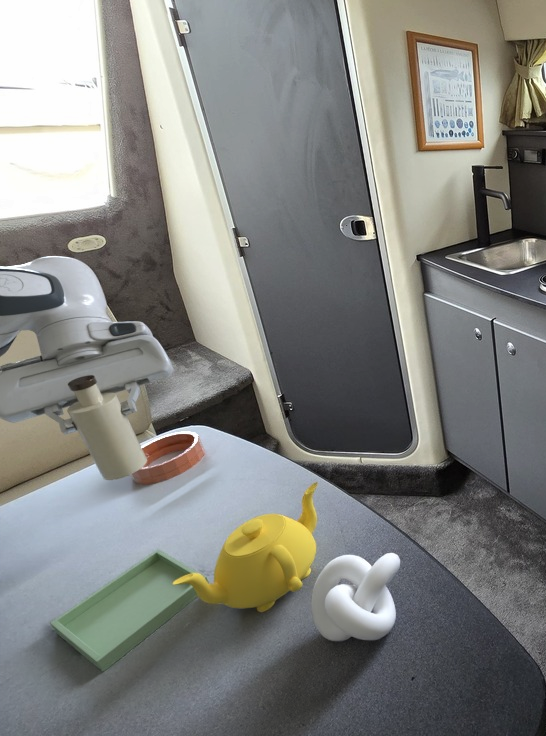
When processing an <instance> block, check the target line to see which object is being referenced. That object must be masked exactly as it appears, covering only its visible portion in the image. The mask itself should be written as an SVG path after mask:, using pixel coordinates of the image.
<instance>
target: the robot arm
mask: <svg viewBox="0 0 546 736" xmlns="http://www.w3.org/2000/svg"><path fill="white" fill-rule="evenodd" d="M107 307H108V303H107V299H106V296H105V293H104V290H103V287H102V285H101V283H100V281H99V278H98V277H97V275H96V273H95V272H94V270H92V268H90V266H88V265H87V264H86V263H85V262H83V261H81V260H79V259H76V258H74V257H68V256H60V255H52V256H51V255H50V256H49V255H48V256H43V257H42V256H41V257H38V258H36V259H33V260H31V261H30V262H29V261H28V262H27V263H24V264H17V265H11V266H0V358H1V357H3V356H4V355H5V354H6V353H7V352H8V351H9V349H10V348H11V346H12V345H13V343H14V342H15V340H16V338H17V337H18V335H19V333H21V331H30V332H33V333H34V334H35V336H36V340H37V343H38V347H39V352H40V355H37V356H34V357H29V358H26V359H22V360H19V361H15V362H9V363H5V364H2V365H0V419H1V420H3V421H6V422H8V423H12V424H13V423H19V422H22V421H27V420H29V419H32V418H36V417H39V416H43V415H46V416H47V417H49V418H50V419H52V420H53V421H54V422H57V424H59V428H60V431H61V433H62V434H63V435H68V434H72V433H74V432H78V430H77V429H76V427H75V425H74V423H73V421H72V419H71V417H70V418H67V419H64V418H63V417H61V416H63V415H64V413H65V412H64V410H63V409H66V408H67V409H68V408H69V407H70V406H71V405H72V404H74V403H76V402H77V401H78V400H77V398H76V396H75V394H74V392H73V391H71V390H70V389H69V387H68V383H69V382H70V381H72V380H74V379H76V378H79V377H82V376H87V375H94V376H95V378H96V380H97V383H96V384H97V386H98V388H99V390H100V392H101V393H106V392H113V393H115V394H117V393H120V392H124V391H126V392H127V393H128V396H127V398H126V400H125V401H123V402H120V405H121V407H122V412H123V414H125V415H126V416H128V415H131V414H134V413H137V412H138V408H137V406H136V403H137V400H138V398H139V396H140V394H141V392H142V390H141V387H140V386H145V385H147V384H151V383H154V382H157V381H161V380H164V379H165V380H166V379H167V378H170V377H171V376H172V375H173V374H174V372H175V369H174V365H173V363H172V361H171V359H170V357H169V356H168V354H167V352H166V350H165V348H163V346H162V344H161V343H160V342H159V340H158V339H157V338H156V337H154V336H153V332H152V331H151V329H150V328H149V327H148V326H147V324H145V323H144V322H142V321H112V319H111V318H110V317H109V315H108V313H107Z"/></svg>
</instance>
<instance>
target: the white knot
mask: <svg viewBox="0 0 546 736" xmlns="http://www.w3.org/2000/svg"><path fill="white" fill-rule="evenodd" d="M400 567H401V559H400V557H399V555H398V554H396V553H394V552H388V553H385V554H383V555H382V556H381V557H379V558H378V559H377V560H375V562H374V564H372V565H371V564H370V563H369V562H368V561H367V560H366V559H364V558H363V557H361V556H359V555H355V554H343V555H340V556H336V557H335V558H333V559H332V560H330V561H329V562H328V563H327V564H326V565H324V567H323V568H322V570H321V572H320V573H319V574H318V576H317V577H316V581H315V583H314V586H313V589H312V592H311V599H310V609H311V615H312V620H313V623H314V626H315V628H316V629H317V631H318V633H319V634H320V635H321V636H322V637H323V638H324V639H326V640H328V641H331V642H344V641H346V640H349V639H350V638H351V637H353V638H355V639H357V640H363V641H377V640H380V639H382V638H383V637H385V636H386V635H388V634H389V633H390V632H391V630H392V629H393V627H394V625H395V622H396V619H397V617H396V616H397V614H396V613H397V611H396V605H395V601H394V598H393V596H392V594H391V592H390V590H389V587H388V585H389V584H390V583H391V581H392V580H393V579H394V578H395V576H396V574H398V573H397V572H398V571H399V570H400ZM342 580H347V581H348V582H350V583H352V584H348V583H342V584H340V582H341V581H342Z"/></svg>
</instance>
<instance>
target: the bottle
mask: <svg viewBox="0 0 546 736" xmlns="http://www.w3.org/2000/svg"><path fill="white" fill-rule="evenodd" d="M96 383H97V380H96V378H95V376H94V375H87V376H82V377H79V378H76V379H74V380H72V381H70V382H69V383H68V387H69V389H70V390H71V391H73V392H74V394H75V396H76V398H77V400H78V401H77V402H76V403H74V404H72V405H71V406H70V407H67V414H68V415H69V417H70V418H71V419H72V421H73V423H74V425H75V427H76V429H77V430H78V431H77V432H78V435H79V436H80V438H81V440H82V442H83V443H84V445H85V447H86V449H87V451H88V453H89V455H90V456H91V458H92V460H93V463H94V464H95V466H96V469H97V470H98V472H99V474H100V475H101V478H102V479H103V480H105V481H115V480H119V479H124V478H126V477H128V476H131V474H132V473H134V472H136V471H138V470H139V469H141V468H142V467H143V466H144V465H145V464H146V462H147V457H146V455H145V453H144V451H143V449H142V445H141V443H140V441H139V438H138V436H137V434H136V433H135V430H134V428H133V426H132V424H131V422H130V419H129V418H128V415H125V414H123V412H122V407H121V405H120V403H121V401H120V399H119V397H118V395H117V393H113V392H106V393H101V392H100V390H99V388H98V386H97V384H96Z"/></svg>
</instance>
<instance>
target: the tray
mask: <svg viewBox="0 0 546 736" xmlns="http://www.w3.org/2000/svg"><path fill="white" fill-rule="evenodd" d="M191 573H199V574H201V575H202V576H203V577H204V578H205V579H206V581H207V582H208V583H209V584H210V581H209V579H208V577H207V576H206V575H204V574H203V573H201V572H199V571H197V570H195V569H194V568H192V567H190V566H189V565H188V564H186V563H184V562H182V561H180V560H179V559H177V558H175V557H174V556H172V555H171V554H168V553H166V552H165V551H163V550H162V549H160V548H157V549H156V550H153V552H151V553H150V554H148V556H146V557H144V558H142V559H141V560H139V561H138V562H137V563H135V564H134V565H133V566H131V567H130V568H128V569H127V570H125V571H124V572H122V573H121V574H119V575H117V576H116V577H115V578H113V579H112V580H110V581H109V582H108V583H106V584H105V585H103V586H102V587H100V588H99V589H97V590H96V591H95V592H93V593H92V594H90V595H89V596H87V597H86V598H84V599H82V600H81V601H80V602H78V603H77V604H75V605H74V606H72V607H71V608H70V609H68V610H67V611H65V612H64V613H62V614H61V615H59V616H57V618H55V619H54V620H52V621H51V622H50V623H49V624H50V627H52V629H53V630H54V632H55V634H57V635H58V636H59V637H61V638H62V639H63V640H64V641H65V642H66V643H68V644H69V645H70V646H72V647H73V648H74V649H75V650H76V651H77V652H79V654H81V655H82V656H83V657H84V658H86V659H87V660H88V661H90V662H91V663H92V664H93V665H94V666H95V667H96V668H98V669H99V670H100V671H101V672H102V673H104V672H105V671H107V670H108V669H109V668H110V667H112V666H113V665H114V664H116V663H117V662H119V660H120V659H122V658H123V657H125V655H127V654H128V653H129V652H130V651H132V650H133V649H134V648H135V647H137V646H138V645H139V644H140V643H142V642H144V640H146V639H147V638H148V637H150V636H151V635H152V634H153V633H155V632H156V630H158V629H160V628H161V627H162V626H163V625H164V624H166V623H167V622H168V621H169V620H170V619H171V618H173V617H175V615H176V614H178V613H179V612H181V611H182V610H183V609H184V608H186V607H187V606H188V605H190V603H192V602H193V601H194V600H196V599H197V598H199V596H198V595H197V593H196V591H195V589H194V588H193V587H192V586H191V585H190V584H186V583H185V584H177V585H174V584H173V582H174V581H176V580H177V579H179V578H180V577H183V576H185V575H187V574H191Z"/></svg>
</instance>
